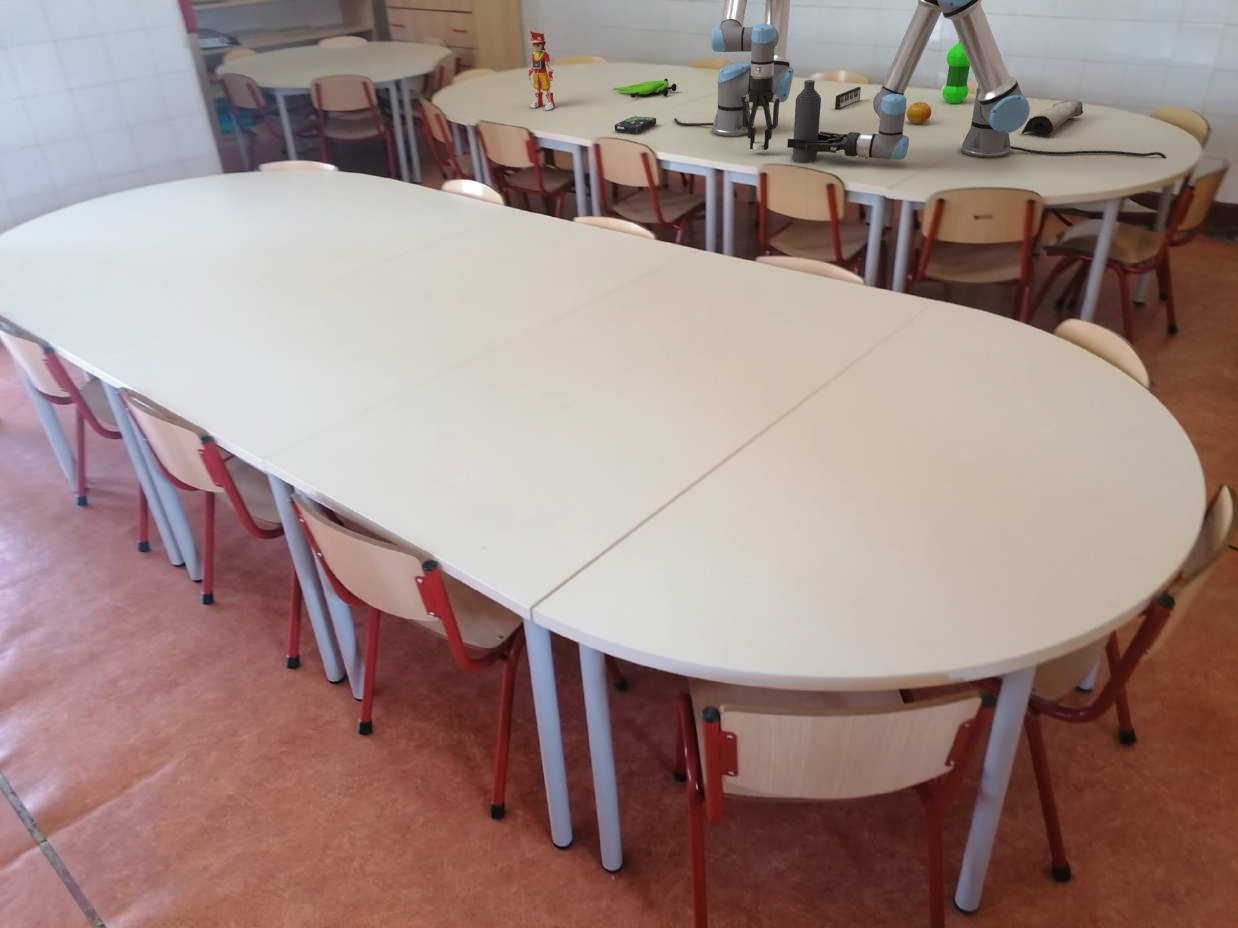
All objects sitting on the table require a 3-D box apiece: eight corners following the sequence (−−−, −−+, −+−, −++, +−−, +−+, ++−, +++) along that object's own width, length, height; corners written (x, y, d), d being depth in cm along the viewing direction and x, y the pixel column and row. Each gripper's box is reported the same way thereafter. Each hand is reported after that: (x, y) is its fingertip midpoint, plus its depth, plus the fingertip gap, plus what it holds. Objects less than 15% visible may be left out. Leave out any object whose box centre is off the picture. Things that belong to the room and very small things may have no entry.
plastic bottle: (973, 101, 354) (984, 32, 339) (955, 106, 349) (966, 36, 335) (952, 97, 361) (962, 29, 346) (934, 102, 356) (944, 33, 342)
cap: (755, 146, 312) (755, 141, 311) (767, 147, 310) (767, 142, 310) (750, 149, 309) (750, 144, 308) (763, 150, 307) (763, 145, 306)
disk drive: (637, 135, 339) (656, 124, 349) (637, 127, 338) (656, 117, 348) (614, 132, 344) (634, 122, 354) (613, 125, 343) (633, 115, 353)
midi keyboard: (837, 109, 354) (838, 96, 352) (834, 109, 355) (835, 95, 352) (859, 100, 365) (861, 87, 362) (857, 99, 366) (858, 86, 363)
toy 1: (525, 109, 381) (517, 32, 364) (534, 104, 388) (527, 28, 371) (550, 110, 377) (543, 32, 360) (559, 105, 384) (553, 28, 367)
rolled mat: (1050, 105, 331) (1074, 88, 323) (1064, 126, 331) (1088, 109, 323) (1017, 127, 314) (1042, 110, 305) (1032, 149, 314) (1057, 132, 306)
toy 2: (686, 85, 398) (631, 84, 414) (685, 72, 395) (629, 72, 411) (651, 104, 381) (596, 103, 397) (650, 92, 378) (594, 91, 394)
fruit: (901, 115, 329) (915, 95, 326) (903, 118, 337) (916, 98, 334) (920, 127, 328) (935, 107, 325) (921, 130, 336) (935, 111, 333)
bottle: (819, 156, 305) (825, 79, 291) (812, 163, 299) (818, 84, 285) (796, 154, 308) (801, 77, 294) (789, 161, 302) (793, 83, 288)
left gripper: (733, 78, 297) (731, 150, 310) (784, 80, 291) (780, 153, 304) (740, 73, 303) (738, 144, 316) (790, 75, 296) (786, 147, 309)
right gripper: (849, 165, 288) (781, 159, 297) (866, 147, 303) (800, 142, 312) (851, 141, 283) (782, 136, 292) (868, 125, 298) (802, 120, 307)
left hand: (759, 148), depth 310 cm, fingers closed on cap, 4 cm apart
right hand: (792, 139), depth 302 cm, fingers closed on bottle, 8 cm apart
